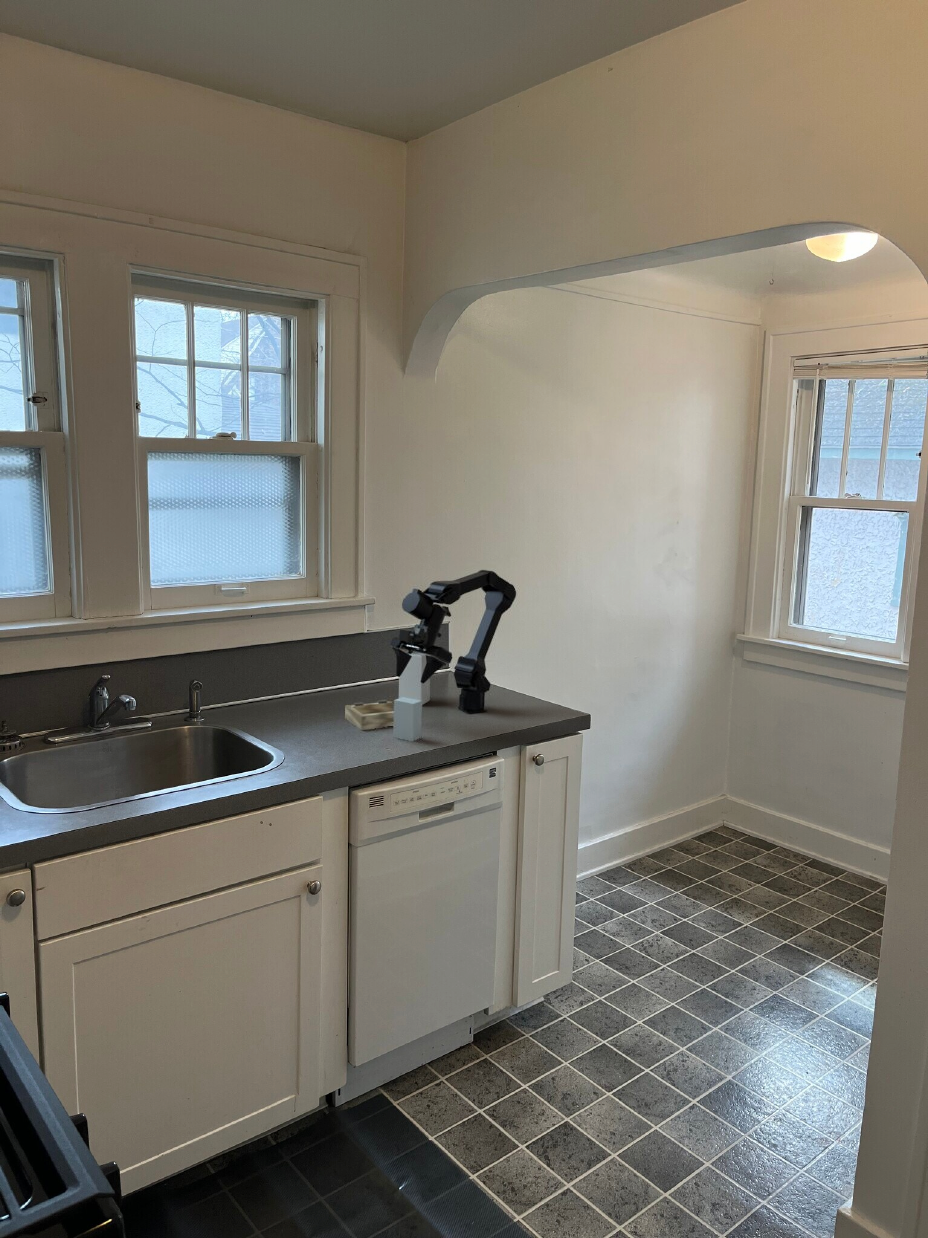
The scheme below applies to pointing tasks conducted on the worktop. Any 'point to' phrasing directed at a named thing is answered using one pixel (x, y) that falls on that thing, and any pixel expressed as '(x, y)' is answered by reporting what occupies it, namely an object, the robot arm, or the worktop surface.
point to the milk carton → (415, 679)
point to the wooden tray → (370, 714)
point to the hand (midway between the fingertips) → (409, 679)
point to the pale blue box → (407, 718)
